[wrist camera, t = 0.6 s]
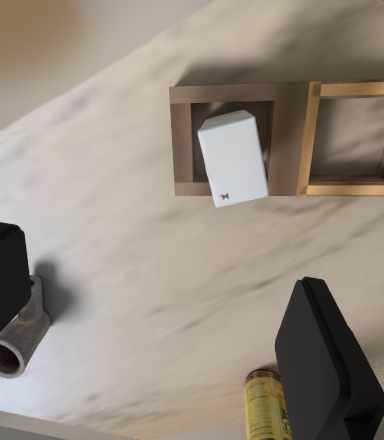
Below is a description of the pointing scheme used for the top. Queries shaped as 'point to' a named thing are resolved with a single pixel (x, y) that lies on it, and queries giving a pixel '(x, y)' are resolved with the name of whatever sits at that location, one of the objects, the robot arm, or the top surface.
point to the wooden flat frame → (274, 135)
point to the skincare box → (233, 158)
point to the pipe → (23, 334)
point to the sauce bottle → (265, 407)
